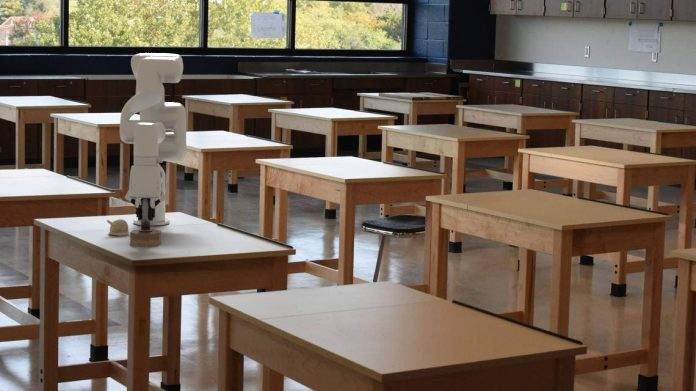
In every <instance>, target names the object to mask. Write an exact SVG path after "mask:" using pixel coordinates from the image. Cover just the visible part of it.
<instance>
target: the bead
mask: <svg viewBox="0 0 696 391" xmlns="http://www.w3.org/2000/svg"><path fill="white" fill-rule="evenodd" d="M129 234H130V235H129V237H130V238H129V241H130V242H129V245H130V246H133V247H134V246H135V247H149V248H150V247H157V246H160V245H161V243H162V230H159V229H155V228H152V229H151V228H150V230H141V228H140V229H133V230H131V231H129Z"/></svg>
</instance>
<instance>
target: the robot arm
mask: <svg viewBox="0 0 696 391" xmlns="http://www.w3.org/2000/svg"><path fill="white" fill-rule="evenodd" d="M183 62H184V61H183V58H182V56H181V55H180V54H176V53H155V52H153V53H152V52H151V53H149V52H148V53H147V52H145V53H141V52H140V53H137V54H134V55H132V57H131V59H130V66H131V71H132V73H133V75H134V78H135V80H136V86H135V95H133V96H132V97H131V98H130V99H129V100H127V102H126V103H125V104H124V106H123V108H122V109H121V113H120V118H119V119H120V121H119V138H120V140H121V141H122V142H124V144H132V145H133V165H131V167H130V174H129V182H128V183H129V186H128V190H127V192H126V194H125V196H124V199H125V200H127V201H128V202H130V203H131V204H132V205H133V206H134V207H135V210H136V212H135V214H136V215H135V216H136V217H135V218H134V219H133V224H134V225H137V226H139V225H140V226H141V198H150V200H151V206H150V209H149V220H150V227H151V226H155V227H156V226H164V225H168V224H170V223H171V221H170V219H169V218H166V200H167V198H168V197H167V195H166V172H165V170H164V169H163V167H162V166H161V164H163V162H180V161H183V160H184V159H185V158H186V154H187V112H186V108H185V106H184V105H183V104H181V103H180V102H167V101H166V100H165V87H164V85H163V84H166V83H168V84H176V83H177V84H178V83H179V82H181V80H182V76H183V72H184V63H183ZM137 113H139V119H132V117H133V116H134V115H136V114H137ZM166 131H172V133H166Z"/></svg>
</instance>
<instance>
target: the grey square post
mask: <svg viewBox="0 0 696 391" xmlns="http://www.w3.org/2000/svg"><path fill="white" fill-rule="evenodd" d="M150 206H151V200H150V198H141V225H140V229H141V230H150V229H151V226H150V220H149V209H150Z"/></svg>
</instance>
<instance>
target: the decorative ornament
mask: <svg viewBox="0 0 696 391" xmlns="http://www.w3.org/2000/svg"><path fill="white" fill-rule="evenodd" d="M106 222H107V223H108V224H109V225H110V227H109V231H108V233H107V235H112V236H118V237H122V236H126V235H128V234H130V231H129V224H128V222H127V221H126V219H123V218H122V219H121V218H120V219H114V220H113V221H111V220H109V219H106Z"/></svg>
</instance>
